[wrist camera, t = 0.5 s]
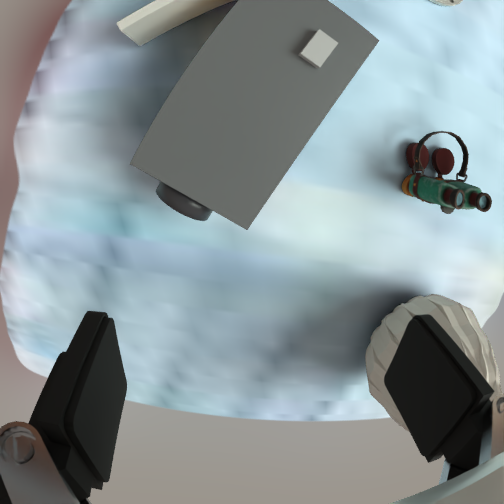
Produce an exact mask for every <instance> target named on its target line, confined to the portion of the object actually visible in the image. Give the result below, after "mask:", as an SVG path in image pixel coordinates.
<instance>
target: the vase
mask: <svg viewBox="0 0 504 504" xmlns="http://www.w3.org/2000/svg"><path fill="white" fill-rule="evenodd" d="M424 314H430V315H431V316H433V318H434V319H435V320H436V321H437V322H438V323H439V324H440V325H441V327H442V328H443V329H444V330H445V331H446V332H447V333H448V335H449V336H450V337H451V338H452V339H453V340H454V342H455V343H456V344H457V345H458V346H459V348H460V349H461V350H462V351H463V352H464V353H465V355H466V356H467V357H468V358H469V360H470V361H471V362H472V363H473V364H474V366H475V367H476V368H477V369H478V371H479V372H480V373H481V374H482V376H483V377H484V378H485V379H486V381H487V382H488V383H489V385H490V386H491V387H492V388H493V390H494V391H495V392H494V393H493V395H492V396H491V397H490V400H491V402H492V400H493V399H494V398H495V396H497V395H498V394H502V391H501V386H500V375H499V370H498V367H497V364H496V361H495V357H494V354H493V349H492V347H491V344H490V342H489V340H488V338H487V336H486V335H485V333H484V332H483V330H482V329H481V328H480V326H479V323H478V321H477V319H476V317H475V315H474V313H473V311H472V310H471V309H470V308H468V307H465V306H463V305H461V304H460V303H458V302H455V301H453V300H451V299H449V298H446V297H444V296H441V295H437V294H431V295H428V296H425V297H423V296H421V295H419V296H418V297H417V296H415V297H414V298H412V299H411V300H409V301H408V302H407V303H406V304H404V303H402V304H401V305H399V306H397V307H396V308H395V309H394V310H393V312H392V313H389V314H388V315H386V316H385V318H384V319H383V320H381V323H382V324H381V325H380V326H379V327H377V328H376V329H375V331H374V332H373V333H372V336H371V337H370V339H371V342H370V344H369V346H368V347H367V349H366V355H365V361H366V370H367V377H368V383H369V391H370V393H371V395H372V396H373V397H374V398H375V399H376V400H377V401H378V402H379V403H380V404H381V405H382V406H383V407H384V408H385V409H386V411H387V412H388V414H389V415H390V417H391V418H392V419H394V421H395V422H397V423H398V424H399V425H400V426H402V427H403V428H404V429H406V430H407V431H409V430H408V428H407V426H406V424H405V422H404V420H403V418H402V416H401V414H400V412H399V411H398V409H397V407H396V405H395V403H394V401H393V399H392V397H391V396H390V394H389V392H388V390H387V388H386V386H385V384H384V376H385V374H386V372H387V370H388V368H389V366H390V363H391V361H392V359H393V357H394V355H395V353H396V350H397V348H398V346H399V344H400V341H401V339H402V337H403V334H404V332H405V330H406V327H407V325H408V323H409V321H410V320H412V318H413V317H414V316H415V315H424ZM409 432H410V431H409Z"/></svg>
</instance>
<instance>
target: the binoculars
mask: <svg viewBox="0 0 504 504" xmlns="http://www.w3.org/2000/svg"><path fill="white" fill-rule="evenodd" d="M437 133H448V134H450V135H451V136H453V137H455V138H456V140H457V141H458V143H459V144H460V146H461V148H462V151H463V163H462V166H461V170H460V171H459V173H457V174H456V179H457V180H444V179H443V178H442V175H447V174H449V173H450V172H451V171H452V169H453V166H454V156H453V154H452V152H451V151H450V150H448V149H446V148H439V149H436V150H435V151H434V152H433V154H432V164H433V167H434V169H435V170H436V172H437V173H438V177H436V178H431V177H427V176H424V175H423V173H424V169H425V168H426V166H427V164H428V161H429V152H428V149H427V148H426V146H425V145H424V142H425V141H426V140H427V139H428V138H429V137H431V136H432V135H434V134H437ZM468 155H469V154H468V151H467V147H466V145H465V144H464V142H463V141H462V139H461V138H460V137H459V136H457V135H456V134H454V133H452V132H444V131H439V132H432V133H429V134H427V135H426V136H424V137H423V138H422V139H421V140H420V141H419V143H412V144H410V145H409V146H408V148H407V151H406V158H407V162H408V164H409V166H410V168H411V169H412V174H410V175H408V176H407V177H406V178H405V179H404V181H403V183H402V190H403V192H404V193H405V194H406V195H409V196H412V197H413V196H414V197H416V198H418V199H420V200H422V201H425V202H428V203H433V204H439V205H440V206H441V209H442V212H444V213H446V214H451V212H453V210H454V209H455V208H456V209H474V208H477V209H478V210H480V211H482V212H486V211H488V210H489V209H490V207H491V204H492V200H491V197H490V196H489V194H487V193H482V192H481V189H480V188H478V187H475V186H472V185H469V184H466V183H464V182H465V181H466V179H467V175H466V171H467V165H468ZM416 171H422V174H421V173H416ZM458 175H459V176H461V177H465V176H466V177H465V179H464V180H461V179H458Z"/></svg>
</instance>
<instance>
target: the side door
mask: <svg viewBox="0 0 504 504" xmlns="http://www.w3.org/2000/svg"><path fill="white" fill-rule="evenodd" d="M231 1H234V0H155V1H154V2H152V3H150V4H148V5H146V6H144V7H143V8H141V9H139V10H137V11H135V12H134V13H132V14H130V15H129V16H127V17H125V18H124V19H122V20H120V21H119V22H117V25H118V27H119V29H120V31H121V32H123V33H124V34H125V35H126V36H128V37H129V38H130V39H131V40H132V41H134V42H135V43H136V44H137V45H139V46H142V45H144V44H145V43H147V42H149V41H151V40H152V39H154V38H156V37H158V36H159V35H161V34H163V33H165V32H167V31H169V30H171V29H172V28H174V27H176V26H178V25H180V24H182V23H184V22H186V21H188V20H190V19H192V18H195V17H197V16H199V15H201V14H203V13H205V12H208V11H210V10H212V9H214V8H217V7H219V6H222V5H224V4H226V3H229V2H231Z"/></svg>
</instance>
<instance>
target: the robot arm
mask: <svg viewBox="0 0 504 504" xmlns="http://www.w3.org/2000/svg"><path fill="white" fill-rule="evenodd" d="M429 1H431V2H433V3H435V4H438V5H441V6H454V5H457V4H460V3H461V2H462V1H463V0H429ZM384 384H385V386H386V388H387V390H388V392H389V394H390V396H391V397H392V399H393V401H394V403H395V405H396V407H397V409H398V411H399V412H400V414H401V416H402V418H403V420H404V422H405V424H406V426H407V428H408V430H409V431H410V433H411V435H412V437H413V439H414V441H415V443H416V445H417V447H418V449H419V451H420V453H421V454H422V455H423V456H425V457H426V459H427V461H428V462H432V461H434V460H437V459H439V458H441V456H442V455H444V456H445V461H444V466H443V470H442V474H441V478H440V482H439V485H437V486H435V487H433V488H430V489H428V490H426V491H423V492H420V493H418V494H415V495H413V496H410V497H407V498H404V499H402V500H399V501H396V502H393V503H390V504H504V394H498V395H497V396H495V398H494V399H493V400H492V402H491V400H490V397H491V396H492V395H493V393H494V392H495V391H494V390H493V388H492V387H491V386H490V385H489V383H488V382H487V381H486V379H485V378H484V377H483V376H482V374H481V373H480V372H479V371H478V369H477V368H476V367H475V366H474V364H473V363H472V362H471V361H470V360H469V358H468V357H467V356H466V355H465V353H464V352H463V351H462V350H461V349H460V348H459V346H458V345H457V344H456V343H455V342H454V340H453V339H452V338H451V337H450V336H449V335H448V333H447V332H446V331H445V330H444V329H443V328H442V327H441V325H440V324H439V323H438V322H437V321H436V320H435V319H434V318H433V316H431V315H430V314H424V315H415V316H414V317H413V318H412V320H410V321H409V323H408V325H407V327H406V330H405V332H404V334H403V337H402V339H401V341H400V344H399V346H398V348H397V350H396V353H395V355H394V357H393V359H392V361H391V363H390V366H389V368H388V370H387V372H386V374H385V376H384ZM126 391H127V381H126V377H125V373H124V368H123V364H122V359H121V355H120V350H119V345H118V340H117V335H116V329H115V324H114V320H113V318H108V315H107V313H105V312H95V311H87V313H86V314H85V316H84V318H83V320H82V322H81V323H80V325H79V327H78V329H77V331H76V333H75V335H74V337H73V339H72V341H71V343H70V345H69V347H68V349H67V351H66V352H62V353H60V355H59V356H58V358H57V360H56V362H55V364H54V366H53V368H52V371H51V373H50V375H49V377H48V379H47V381H46V384H45V386H44V388H43V390H42V392H41V395H40V397H39V399H38V401H37V404H36V406H35V409H34V411H33V413H32V416H31V418H30V421H29V423H25V422H18V421H16V422H10V423H7V424H6V425H4V426H2V427H1V428H0V504H91V502H90V501H89V499H88V497H90V492H91V488H96V489H100V490H102V486H103V482H108V481H109V478H110V473H111V467H112V461H113V455H114V450H115V444H116V439H117V433H118V429H119V424H120V419H121V414H122V410H123V405H124V401H125V396H126Z"/></svg>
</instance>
